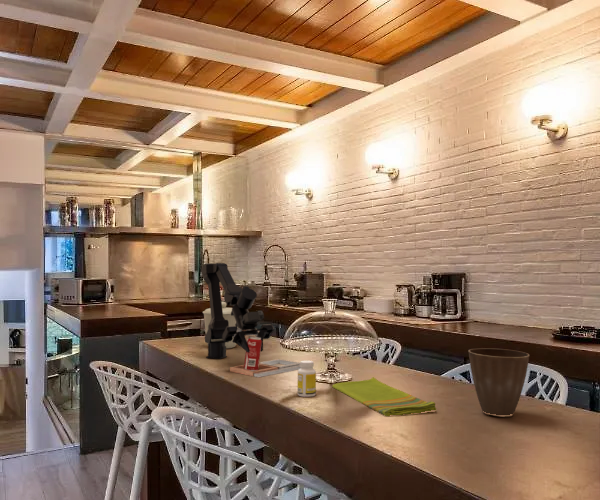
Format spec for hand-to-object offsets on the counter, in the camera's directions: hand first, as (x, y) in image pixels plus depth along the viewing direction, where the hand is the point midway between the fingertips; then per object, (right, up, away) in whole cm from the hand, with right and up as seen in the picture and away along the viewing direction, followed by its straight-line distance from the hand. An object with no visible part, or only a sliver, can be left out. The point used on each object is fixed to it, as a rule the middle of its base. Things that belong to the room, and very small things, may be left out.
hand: (255, 351), depth 196 cm
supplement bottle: (+18, -7, -34) cm, 39 cm away
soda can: (-2, -7, 0) cm, 7 cm away
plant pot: (+67, -7, -53) cm, 86 cm away
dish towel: (+39, -7, -38) cm, 54 cm away
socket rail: (+5, -7, +5) cm, 10 cm away
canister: (-20, -9, +57) cm, 61 cm away
